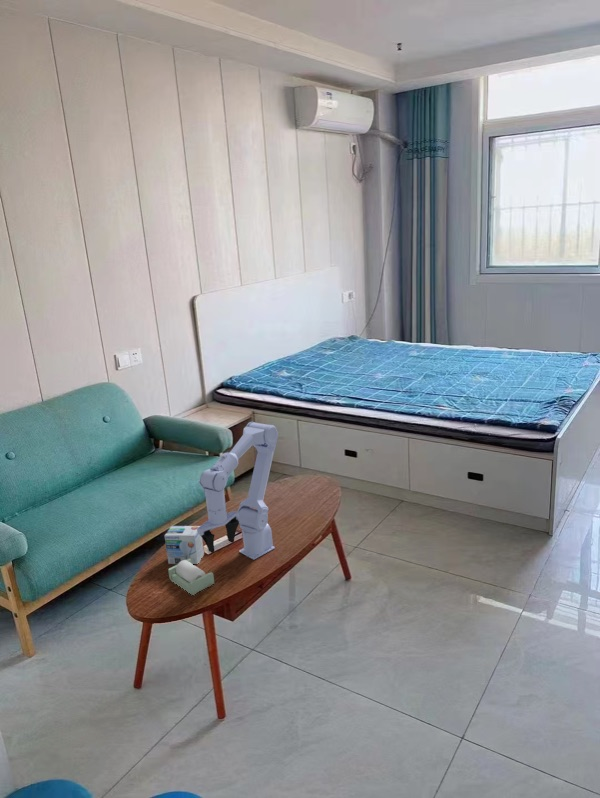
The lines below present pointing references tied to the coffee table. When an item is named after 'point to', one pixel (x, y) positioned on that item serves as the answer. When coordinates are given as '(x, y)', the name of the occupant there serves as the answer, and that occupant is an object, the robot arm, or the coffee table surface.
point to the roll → (189, 571)
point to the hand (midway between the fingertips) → (221, 546)
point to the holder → (193, 586)
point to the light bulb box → (183, 544)
